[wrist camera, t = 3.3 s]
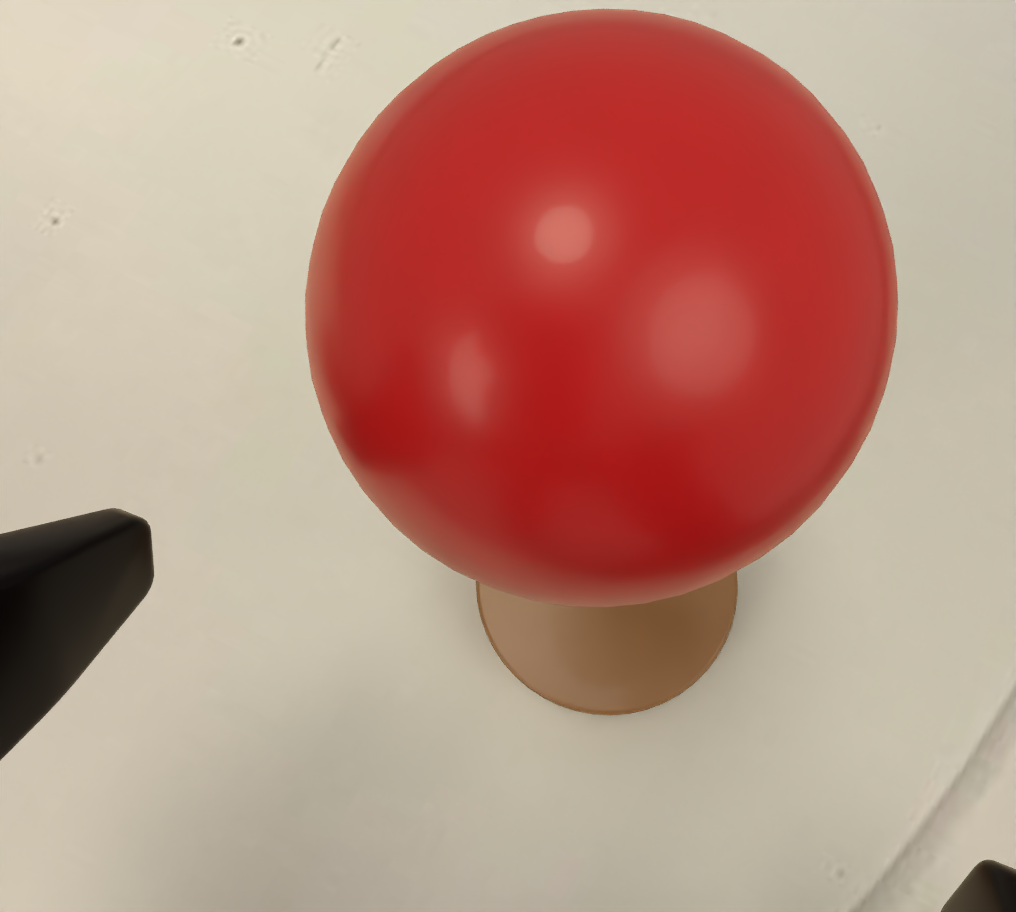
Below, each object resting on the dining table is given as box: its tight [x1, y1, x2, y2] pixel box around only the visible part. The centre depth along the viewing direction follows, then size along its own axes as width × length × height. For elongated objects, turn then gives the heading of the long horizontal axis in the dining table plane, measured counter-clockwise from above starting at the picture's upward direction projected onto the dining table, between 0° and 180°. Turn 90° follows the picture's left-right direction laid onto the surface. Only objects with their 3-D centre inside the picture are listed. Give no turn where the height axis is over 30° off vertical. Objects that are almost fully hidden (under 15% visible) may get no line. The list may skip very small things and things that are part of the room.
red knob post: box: [305, 9, 898, 715], centre depth 11 cm, size 6×6×16 cm
